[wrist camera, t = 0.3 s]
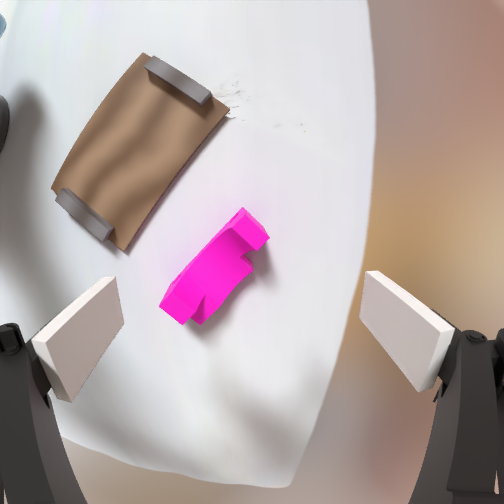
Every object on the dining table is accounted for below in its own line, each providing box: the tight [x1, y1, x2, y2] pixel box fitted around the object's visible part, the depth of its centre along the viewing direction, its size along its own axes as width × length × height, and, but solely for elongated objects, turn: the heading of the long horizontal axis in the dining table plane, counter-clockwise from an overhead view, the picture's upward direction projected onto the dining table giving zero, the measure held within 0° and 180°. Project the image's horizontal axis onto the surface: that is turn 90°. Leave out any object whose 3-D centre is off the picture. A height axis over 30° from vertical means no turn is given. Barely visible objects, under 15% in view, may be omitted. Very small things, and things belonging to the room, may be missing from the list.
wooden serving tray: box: [51, 53, 230, 251], centre depth 32 cm, size 16×24×3 cm, turn 141°
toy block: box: [159, 207, 269, 325], centre depth 35 cm, size 15×6×8 cm, turn 136°
